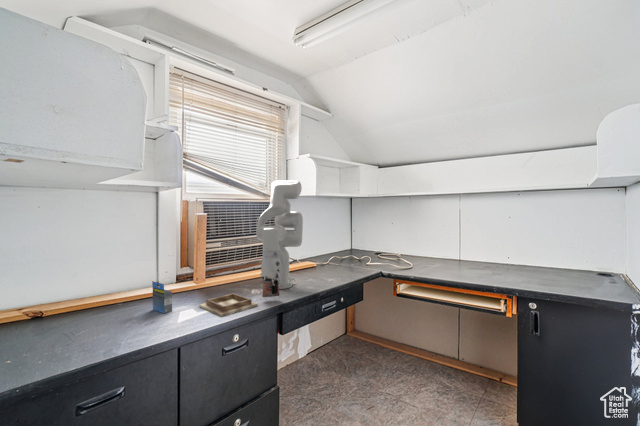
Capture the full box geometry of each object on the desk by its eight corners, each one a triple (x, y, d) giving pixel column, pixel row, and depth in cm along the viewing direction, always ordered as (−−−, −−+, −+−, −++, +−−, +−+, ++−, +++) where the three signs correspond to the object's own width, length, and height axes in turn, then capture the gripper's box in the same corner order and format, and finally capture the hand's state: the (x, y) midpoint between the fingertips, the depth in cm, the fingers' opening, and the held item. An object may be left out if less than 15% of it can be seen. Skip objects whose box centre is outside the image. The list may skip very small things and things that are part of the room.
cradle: (235, 297, 148) (235, 291, 148) (257, 306, 136) (257, 299, 136) (199, 306, 135) (199, 299, 135) (221, 316, 123) (221, 309, 123)
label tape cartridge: (172, 311, 129) (172, 282, 129) (163, 313, 126) (163, 284, 125) (160, 307, 134) (160, 279, 133) (152, 309, 130) (151, 281, 130)
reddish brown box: (262, 297, 141) (262, 276, 141) (261, 295, 144) (261, 274, 144) (280, 296, 144) (280, 275, 143) (278, 293, 147) (278, 273, 146)
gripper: (289, 255, 140) (289, 294, 141) (265, 250, 151) (265, 286, 152) (276, 257, 134) (276, 298, 135) (253, 252, 146) (253, 290, 147)
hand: (270, 291), depth 144 cm, fingers closed on reddish brown box, 4 cm apart
